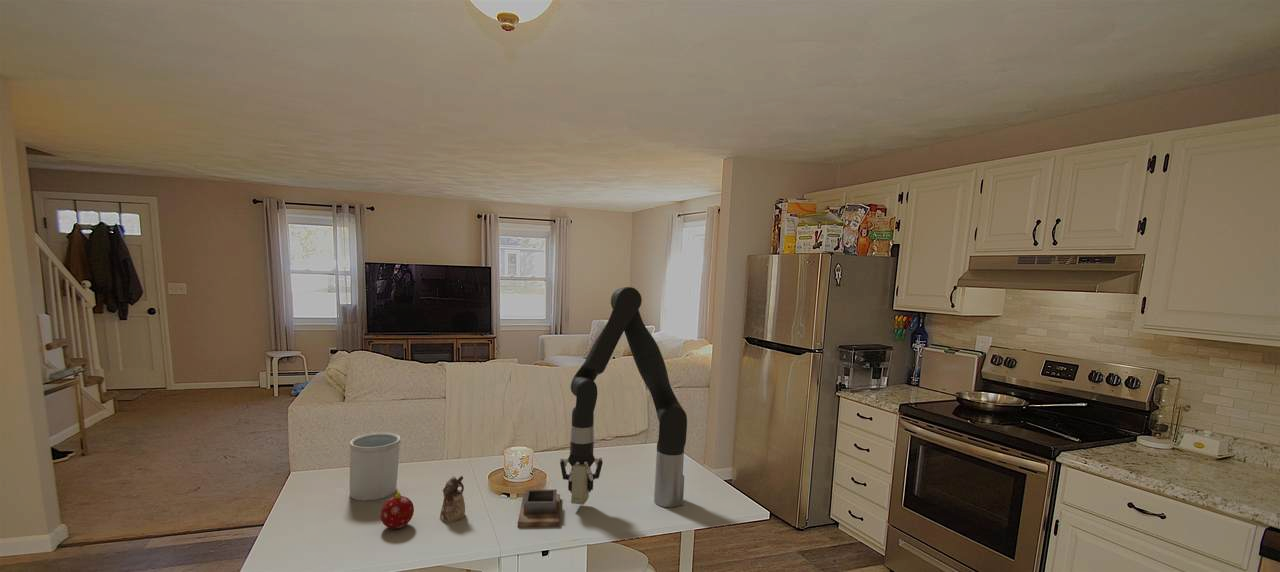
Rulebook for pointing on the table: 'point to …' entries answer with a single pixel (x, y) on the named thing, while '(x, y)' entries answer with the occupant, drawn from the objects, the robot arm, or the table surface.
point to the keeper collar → (540, 502)
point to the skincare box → (580, 484)
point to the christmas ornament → (397, 512)
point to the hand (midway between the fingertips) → (580, 491)
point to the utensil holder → (373, 465)
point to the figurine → (453, 501)
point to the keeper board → (539, 517)
